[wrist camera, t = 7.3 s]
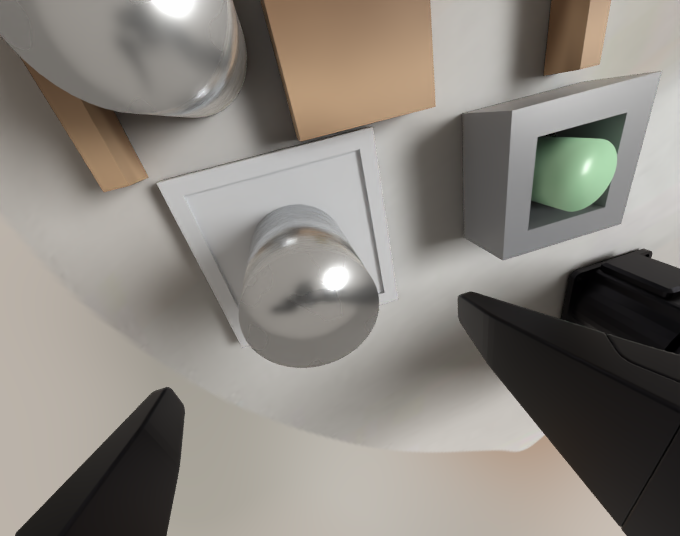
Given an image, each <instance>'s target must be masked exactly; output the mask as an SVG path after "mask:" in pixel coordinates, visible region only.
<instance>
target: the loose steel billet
mask: <svg viewBox="0 0 680 536" xmlns="http://www.w3.org/2000/svg"><path fill="white" fill-rule="evenodd" d="M378 311H379V296H378V291H377V287H376V285H375V283H374V281H373V279H372V277H371V276H370V274H369V273H368V271H367V270H366V268H365V267H364V265H363V263H362V262H361V260H360V259H359V257H358V256H357V254H356V253H355V251H354V249H353V248H352V246H351V245H350V243H349V242H348V240H347V239H346V237H345V235H344V234H343V232H342V231H341V229H340V228H339V226H338V225H337V223H336V222H335V221H334V219H333V218H332V217H331V216H330V215H328V214H327V213H326V212H324V211H323V210H320V209H318V208H316V207H313V206H309V205H303V204H294V205H287V206H284V207H281V208H278V209H276V210H274V211H272V212H271V213H269V214H268V215H267V216H265V217H264V218H263V219H262V220H261V222H260V223H259V224H258V226H257V227H256V229H255V231H254V233H253V236H252V240H251V244H250V250H249V255H248V261H247V266H246V272H245V277H244V283H243V288H242V293H241V299H240V304H239V313H238V314H239V324H240V328H241V331H242V334H243V336H244V338H245V339H246V341H247V343H248V344H249V345H250V346H251V347H252V349H253V350H255V351H256V352H257V353H258V354H259V355H261V356H262V357H264V358H265V359H267V360H269V361H271V362H274V363H277V364H279V365H283V366H288V367H295V368H307V367H316V366H321V365H325V364H329V363H331V362H334V361H337V360H339V359H341V358H343V357H344V356H346V355H348V354H349V353H351V352H352V351H353V350H355V349H356V348H357V347H358V346H359V345H360V344H361V343H362V342H363V341H364V340H365V339H366V338H367V336H368V335H369V333H370V332H371V330H372V329H373V326H374V324H375V322H376V319H377V316H378Z"/></svg>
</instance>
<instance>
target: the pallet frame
mask: <svg viewBox="0 0 680 536" xmlns="http://www.w3.org/2000/svg"><path fill="white" fill-rule="evenodd" d="M260 1H261V5H262V9H263V12H264V16H265V20H266V24H267V27H268V31H269V35H270V39H271V42H272V46H273V50H274V54H275V57H276V61H277V65H278V69H279V72H280V76H281V80H282V84H283V87H284V91H285V95H286V99H287V102H288V106H289V110H290V114H291V117H292V121H293V125H294V129H295V132H296V136H297V139H298V140H299V141H304V140H308V139H312V138H316V137H320V136H324V135H328V134H332V133H335V132H339V131H343V130H347V129H351V128H355V127H359V126H363V125H366V124H370V123H374V122H378V121H382V120H386V119H390V118H394V117H397V116H401V115H405V114H409V113H413V112H417V111H421V110H425V109H428V108H432V107H435V87H434V67H433V47H432V28H431V8H430V0H260ZM610 4H611V0H551V8H550V18H549V28H548V37H547V47H546V57H545V66H544V76H545V75H551V74H557V73H562V72H568V71H574V70H579V69H583V68H587V67H591V66H595V65H599V64H600V59H601V54H602V48H603V43H604V37H605V31H606V26H607V20H608V15H609V9H610ZM20 58H21V57H20ZM21 59H22V58H21ZM22 61H23V62H24V64H25V66H26V67H27V69H28V70H29V72H30V74H31V75H32V77H33V79H34V80H35V82H36V83H37V85H38V87H39V88H40V90H41V92H42V93H43V95H44V96H45V98H46V100H47V101H48V103H49V105H50V106H51V108H52V109H53V111H54V113H55V114H56V116H57V117H58V119H59V121H60V122H61V124H62V126H63V127H64V129H65V130H66V132H67V134H68V135H69V137H70V139H71V140H72V142H73V143H74V145H75V147H76V148H77V150H78V151H79V153H80V155H81V156H82V158H83V160H84V161H85V163H86V164H87V166H88V168H89V169H90V171H91V173H92V174H93V176H94V177H95V179H96V181H97V182H98V184H99V186H100V187H101V189H102V190H103V192H107V191H111V190H115V189H118V188H122V187H126V186H130V185H132V184H134V183H137V182H139V181H141V180H144V179H146V178H148V175H147V173H146V171H145V170H144V168H143V166H142V164H141V162H140V160H139V158H138V156H137V154H136V153H135V151H134V149H133V147H132V145H131V143H130V141H129V139H128V137H127V135H126V134H125V132H124V130H123V128H122V126H121V124H120V122H119V120H118V118H117V117H116V115H115V113H114V111H113V110H109V109H105V108H102V107H99V106H96V105H93V104H91V103H88V102H86V101H84V100H82V99H79V98H77V97H75V96H73V95H71V94H69V93H68V92H66V91H64V90H63V89H61V88H59V87H58V86H56V85H55V84H53V83H52V82H50V81H49V80H48V79H46V78H45V77H44V76H42V75H41V74H39V73H38V72H37V71H36V70H35V69H34V68H32V67H31V66H30V65H29V64H28V63H27V62H25V61H24V60H23V59H22Z"/></svg>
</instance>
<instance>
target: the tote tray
mask: <svg viewBox="0 0 680 536" xmlns="http://www.w3.org/2000/svg"><path fill="white" fill-rule="evenodd" d="M157 185H158V187H159V189H160V191H161V193H162V195H163V197H164V199H165V201H166V203H167V205H168V207H169V208H170V210H171V212H172V214H173V216H174V218H175V220H176V222H177V224H178V226H179V228H180V230H181V232H182V233H183V235H184V237H185V239H186V241H187V243H188V245H189V247H190V249H191V251H192V253H193V255H194V256H195V258H196V260H197V262H198V264H199V266H200V268H201V270H202V272H203V274H204V276H205V278H206V280H207V281H208V283H209V285H210V287H211V289H212V291H213V293H214V295H215V297H216V299H217V301H218V303H219V305H220V306H221V308H222V310H223V312H224V314H225V316H226V318H227V320H228V322H229V324H230V326H231V328H232V329H233V331H234V333H235V335H236V337H237V339H238V341H239V343H240V345H241V347H242V348H244V347H248V346H250V345H249V344H248V343H247V341H246V339H245V338H244V336H243V334H242V331H241V328H240V324H239V314H238V313H239V304H240V299H241V293H242V288H243V283H244V277H245V272H246V266H247V261H248V255H249V250H250V244H251V240H252V236H253V233H254V231H255V229H256V227H257V226H258V224H259V223H260V222H261V220H262V219H263V218H264V217H265V216H267V215H268V214H269V213H271V212H272V211H274V210H276V209H278V208H281V207H284V206H287V205H294V204H303V205H309V206H313V207H316V208H318V209H320V210H323V211H324V212H326V213H327V214H328V215H330V216H331V217H332V218H333V219H334V221H335V222H336V223H337V225H338V226H339V228H340V229H341V231H342V232H343V234H344V235H345V237H346V239H347V240H348V242H349V243H350V245H351V246H352V248H353V249H354V251H355V253H356V254H357V256H358V257H359V259H360V260H361V262H362V263H363V265H364V267H365V268H366V270H367V271H368V273H369V274H370V276H371V277H372V279H373V281H374V283H375V285H376V287H377V291H378V296H379V305H382V304H385V303H389V302H392V301H395V300H398V293H397V287H396V280H395V273H394V266H393V259H392V252H391V246H390V239H389V232H388V225H387V218H386V212H385V205H384V198H383V191H382V184H381V178H380V171H379V164H378V157H377V150H376V144H375V137H374V130H373V127H365V128H361V129H358V130H354V131H350V132H346V133H342V134H338V135H334V136H330V137H327V138H323V139H319V140H315V141H311V142H307V143H303V144H300V145H296V146H292V147H288V148H284V149H280V150H276V151H273V152H269V153H265V154H261V155H257V156H253V157H249V158H245V159H242V160H238V161H234V162H230V163H226V164H222V165H218V166H215V167H211V168H207V169H203V170H199V171H195V172H191V173H188V174H184V175H180V176H176V177H172V178H168V179H164V180H161V181H159V182H158V183H157Z"/></svg>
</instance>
